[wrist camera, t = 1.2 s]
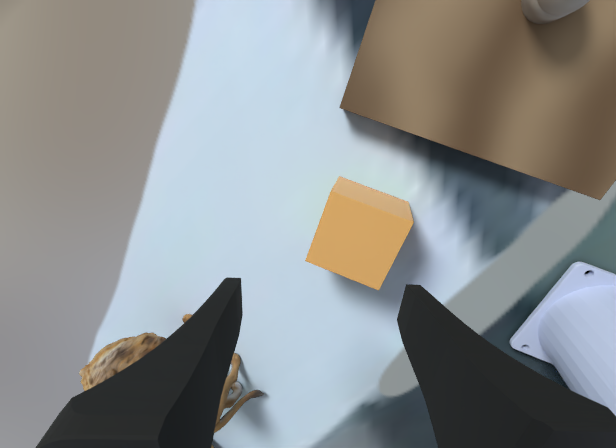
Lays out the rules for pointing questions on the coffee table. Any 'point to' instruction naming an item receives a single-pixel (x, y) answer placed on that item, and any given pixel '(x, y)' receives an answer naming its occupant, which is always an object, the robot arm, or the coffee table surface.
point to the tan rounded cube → (360, 233)
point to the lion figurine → (135, 348)
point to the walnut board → (498, 82)
